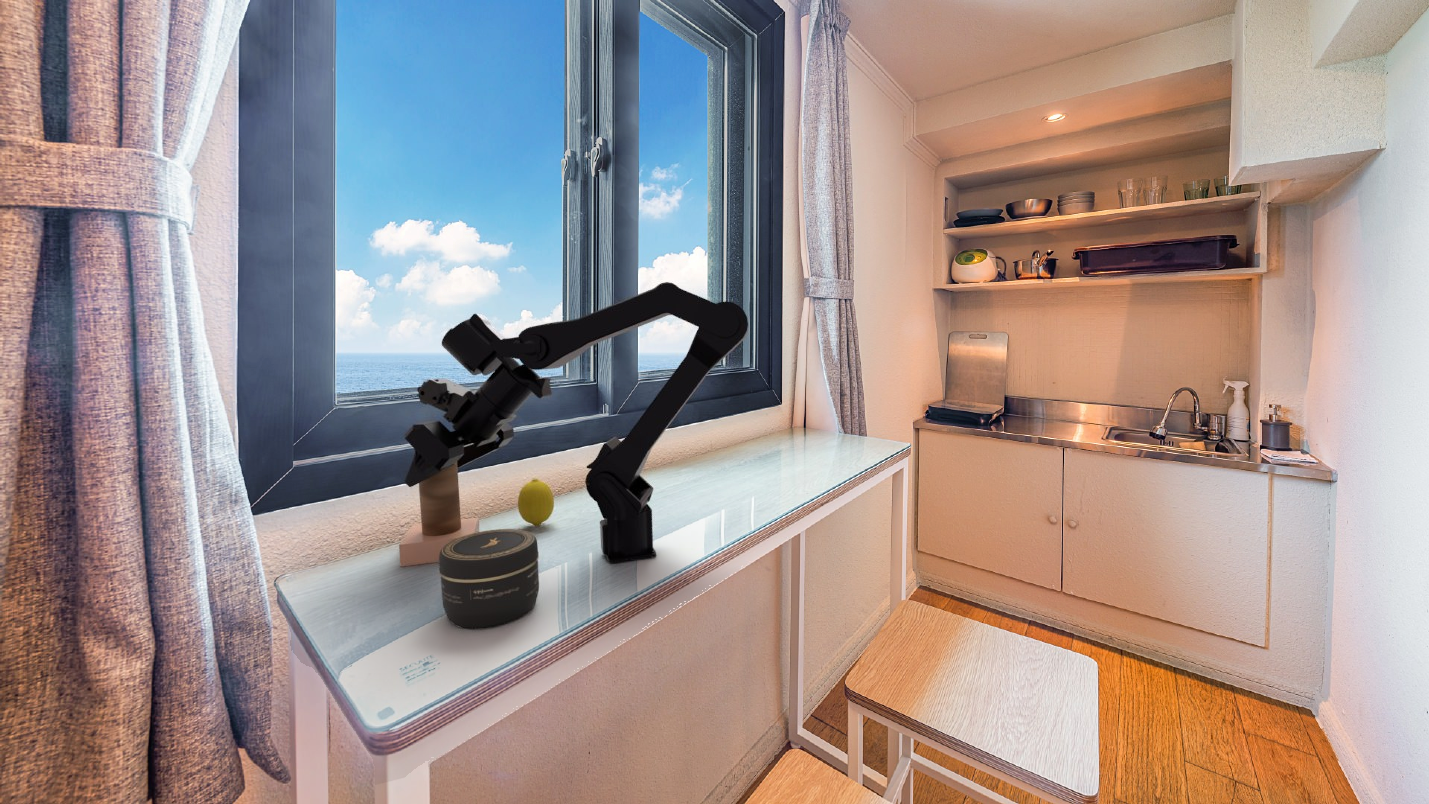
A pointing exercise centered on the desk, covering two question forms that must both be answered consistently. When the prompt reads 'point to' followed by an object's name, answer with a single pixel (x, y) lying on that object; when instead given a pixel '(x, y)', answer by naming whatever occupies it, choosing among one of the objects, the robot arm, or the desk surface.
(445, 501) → the pepper mill
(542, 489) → the lemon
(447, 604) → the jar
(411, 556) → the pink block base
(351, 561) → the desk surface
